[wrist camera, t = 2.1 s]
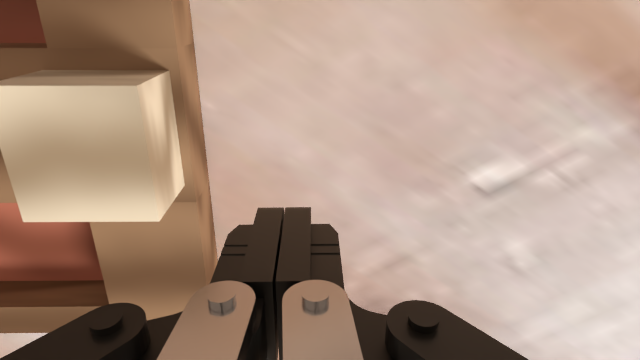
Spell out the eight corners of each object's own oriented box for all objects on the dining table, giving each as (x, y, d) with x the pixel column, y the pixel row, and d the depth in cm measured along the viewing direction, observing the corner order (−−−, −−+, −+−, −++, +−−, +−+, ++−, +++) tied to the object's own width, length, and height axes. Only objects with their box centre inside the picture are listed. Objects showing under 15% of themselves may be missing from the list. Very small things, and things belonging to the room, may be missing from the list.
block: (42, 70, 20) (-20, 85, 16) (169, 70, 20) (136, 85, 16) (71, 185, 22) (23, 222, 19) (184, 185, 22) (159, 221, 19)
